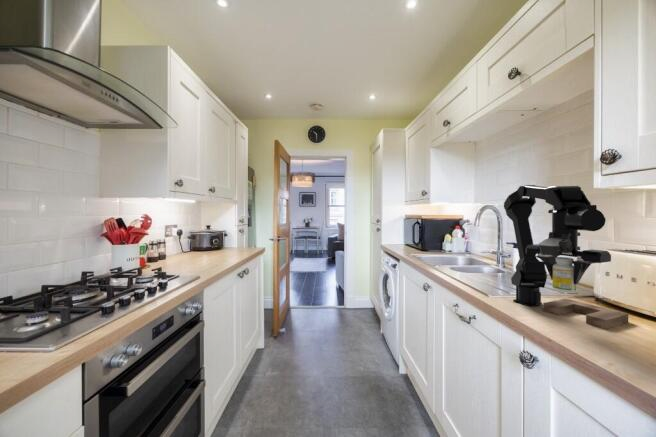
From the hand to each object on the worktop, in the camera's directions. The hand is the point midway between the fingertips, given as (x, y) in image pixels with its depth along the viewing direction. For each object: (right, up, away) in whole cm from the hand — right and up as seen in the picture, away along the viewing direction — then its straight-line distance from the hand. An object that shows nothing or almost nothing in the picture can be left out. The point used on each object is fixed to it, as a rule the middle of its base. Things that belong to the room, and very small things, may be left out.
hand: (564, 281), depth 82 cm
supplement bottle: (0, -3, 0) cm, 3 cm away
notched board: (+11, -12, +6) cm, 17 cm away
